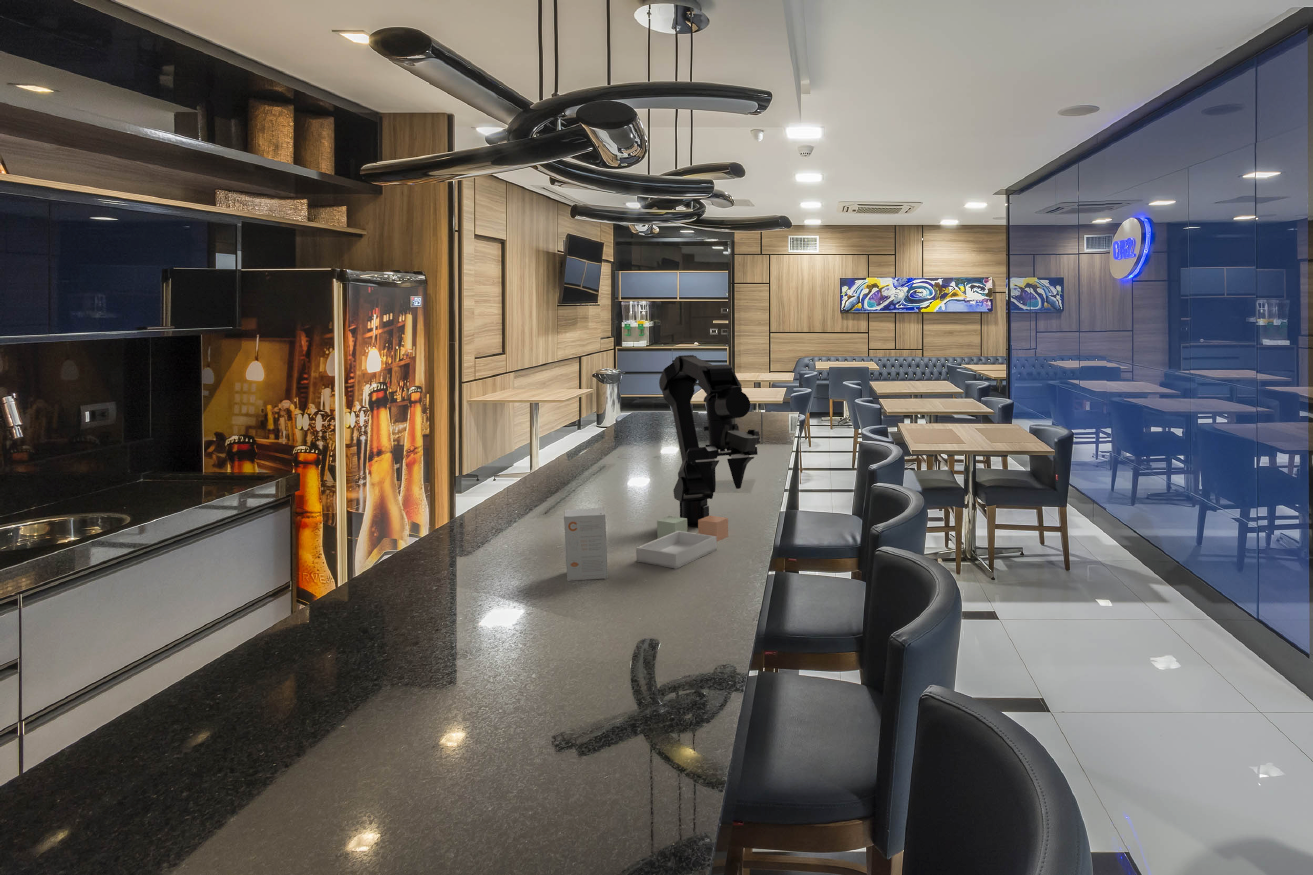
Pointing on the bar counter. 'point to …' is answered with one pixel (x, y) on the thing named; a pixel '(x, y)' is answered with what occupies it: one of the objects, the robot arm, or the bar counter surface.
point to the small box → (585, 544)
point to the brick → (713, 526)
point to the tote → (676, 549)
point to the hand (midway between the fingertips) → (725, 490)
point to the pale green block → (671, 525)
